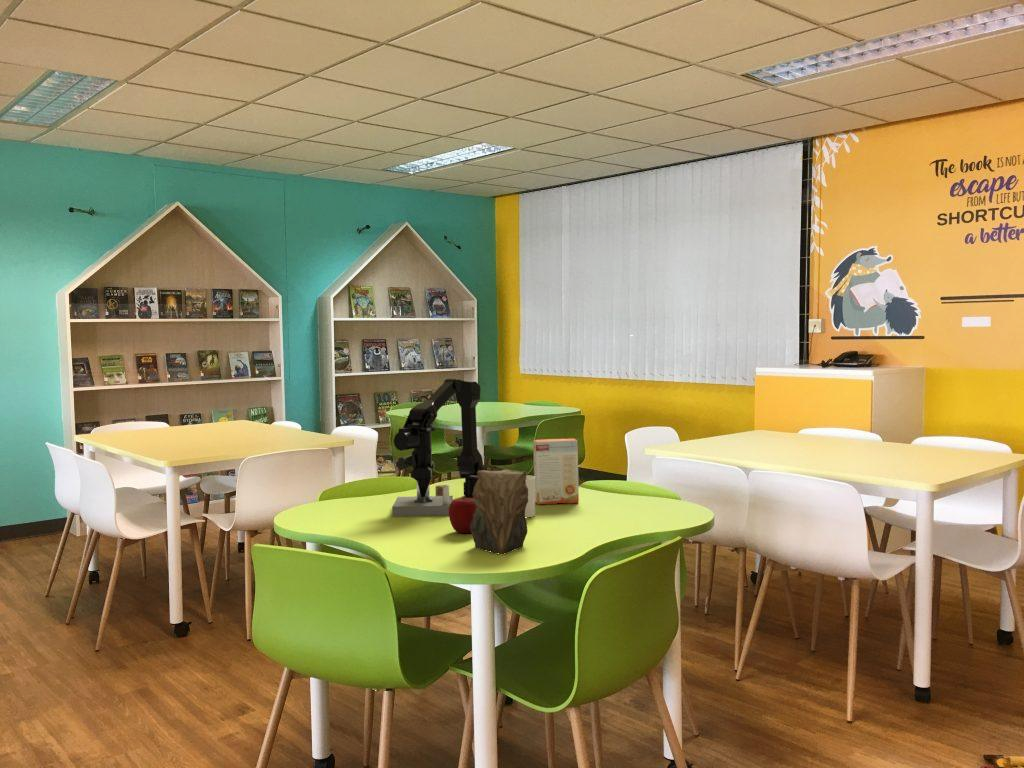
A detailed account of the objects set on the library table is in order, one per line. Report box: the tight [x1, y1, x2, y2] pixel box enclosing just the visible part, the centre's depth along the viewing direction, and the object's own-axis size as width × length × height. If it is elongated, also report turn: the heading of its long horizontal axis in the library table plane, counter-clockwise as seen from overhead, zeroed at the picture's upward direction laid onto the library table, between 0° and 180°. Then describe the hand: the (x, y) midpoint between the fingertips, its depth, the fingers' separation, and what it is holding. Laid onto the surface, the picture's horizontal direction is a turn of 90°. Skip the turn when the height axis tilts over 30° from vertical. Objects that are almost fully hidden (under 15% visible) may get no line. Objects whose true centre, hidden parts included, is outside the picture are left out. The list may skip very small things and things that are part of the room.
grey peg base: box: [391, 484, 454, 517], centre depth 267 cm, size 18×16×9 cm
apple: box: [448, 496, 477, 534], centre depth 237 cm, size 10×10×10 cm
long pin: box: [416, 481, 431, 503], centre depth 267 cm, size 4×4×9 cm
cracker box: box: [533, 437, 580, 506], centre depth 276 cm, size 14×6×21 cm, turn 97°
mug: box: [525, 474, 536, 518], centre depth 256 cm, size 10×7×12 cm, turn 109°
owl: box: [470, 468, 528, 555], centre depth 220 cm, size 13×13×20 cm
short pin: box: [434, 484, 444, 496], centre depth 282 cm, size 4×4×5 cm
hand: (423, 495), depth 267 cm, fingers closed on long pin, 4 cm apart
